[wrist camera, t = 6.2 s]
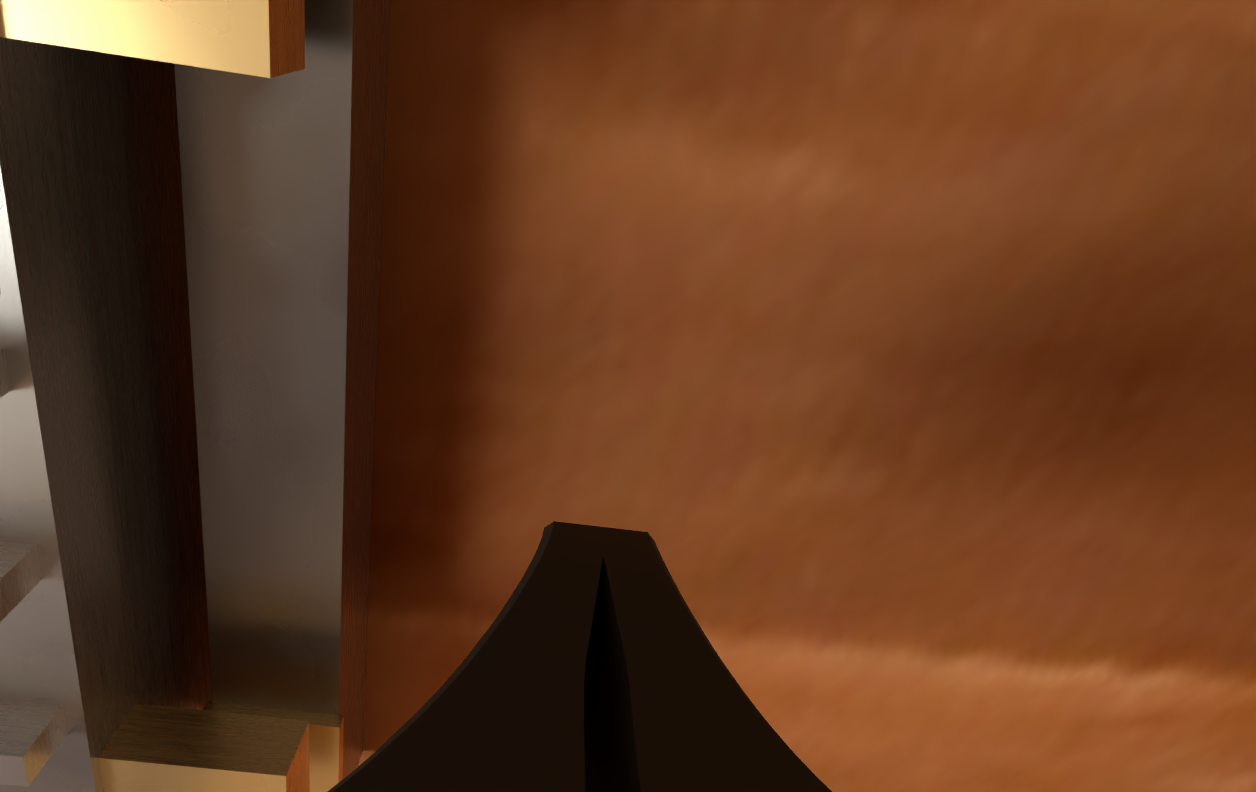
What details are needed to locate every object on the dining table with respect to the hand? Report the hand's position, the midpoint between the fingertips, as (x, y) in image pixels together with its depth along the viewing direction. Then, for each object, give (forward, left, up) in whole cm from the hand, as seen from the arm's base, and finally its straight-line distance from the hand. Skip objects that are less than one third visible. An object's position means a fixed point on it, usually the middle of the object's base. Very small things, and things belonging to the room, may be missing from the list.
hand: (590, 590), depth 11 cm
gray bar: (0, +5, -6) cm, 8 cm away
